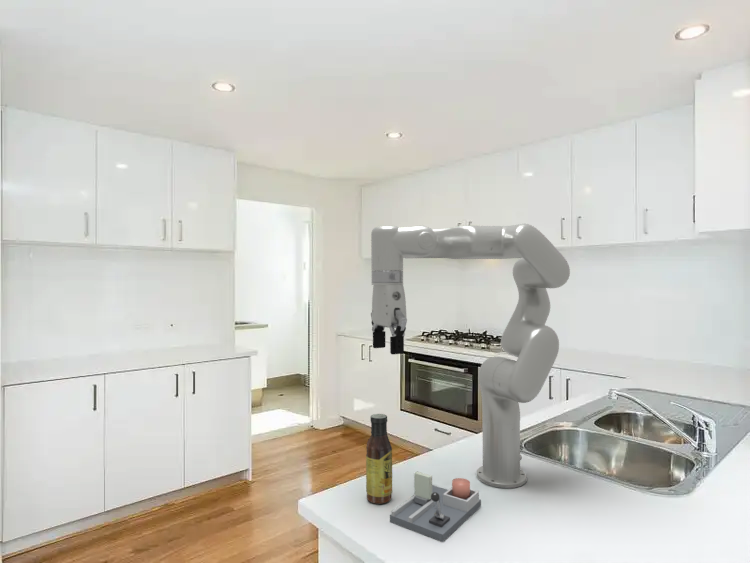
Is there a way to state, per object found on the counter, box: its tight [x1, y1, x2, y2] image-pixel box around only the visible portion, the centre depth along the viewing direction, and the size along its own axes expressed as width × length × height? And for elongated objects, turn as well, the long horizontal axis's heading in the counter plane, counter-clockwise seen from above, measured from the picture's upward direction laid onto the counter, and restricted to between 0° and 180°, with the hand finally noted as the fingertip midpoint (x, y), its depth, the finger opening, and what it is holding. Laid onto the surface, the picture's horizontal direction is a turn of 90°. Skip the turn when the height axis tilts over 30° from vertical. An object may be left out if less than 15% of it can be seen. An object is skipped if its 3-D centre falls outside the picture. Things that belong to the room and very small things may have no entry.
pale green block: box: [413, 471, 433, 505], centre depth 107 cm, size 3×4×6 cm
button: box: [451, 477, 471, 499], centre depth 107 cm, size 4×4×3 cm
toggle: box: [431, 492, 445, 520], centre depth 98 cm, size 2×2×6 cm
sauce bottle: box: [365, 413, 393, 505], centre depth 112 cm, size 7×6×20 cm
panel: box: [389, 484, 482, 543], centre depth 105 cm, size 18×13×4 cm
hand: (387, 350), depth 112 cm, fingers open, 9 cm apart
